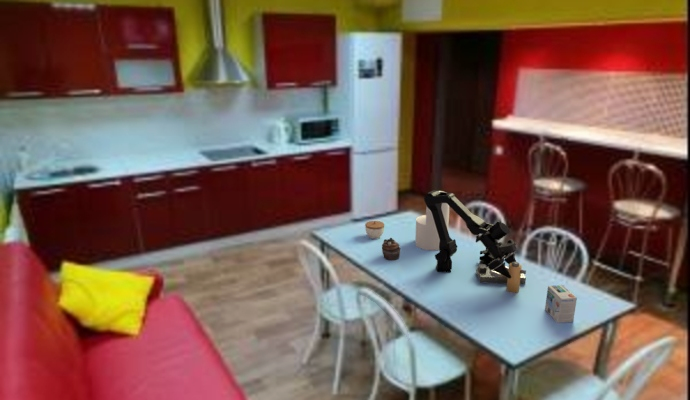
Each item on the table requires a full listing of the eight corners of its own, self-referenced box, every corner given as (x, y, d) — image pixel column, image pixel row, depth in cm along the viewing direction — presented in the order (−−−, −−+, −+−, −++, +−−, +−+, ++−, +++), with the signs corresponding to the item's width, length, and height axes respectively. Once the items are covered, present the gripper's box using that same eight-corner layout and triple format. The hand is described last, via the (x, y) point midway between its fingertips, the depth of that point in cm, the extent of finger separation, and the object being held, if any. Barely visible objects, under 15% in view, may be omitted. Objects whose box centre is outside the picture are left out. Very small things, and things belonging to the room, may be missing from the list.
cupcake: (391, 263, 239) (391, 244, 236) (377, 257, 246) (378, 239, 242) (404, 257, 245) (405, 239, 242) (390, 251, 252) (391, 234, 248)
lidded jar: (384, 240, 266) (384, 224, 263) (365, 240, 266) (365, 224, 264) (383, 233, 276) (383, 217, 273) (365, 233, 277) (364, 218, 274)
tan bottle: (504, 290, 210) (507, 263, 206) (509, 286, 214) (511, 259, 210) (521, 295, 206) (524, 268, 202) (525, 290, 210) (528, 263, 206)
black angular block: (503, 266, 233) (504, 254, 231) (492, 269, 230) (493, 256, 228) (489, 258, 241) (490, 246, 239) (478, 261, 238) (479, 249, 236)
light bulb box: (544, 308, 195) (547, 285, 192) (560, 307, 196) (563, 284, 193) (557, 323, 185) (560, 298, 182) (574, 322, 186) (577, 297, 182)
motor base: (480, 282, 217) (480, 273, 216) (476, 272, 227) (476, 263, 225) (525, 283, 216) (526, 273, 214) (519, 273, 225) (520, 264, 224)
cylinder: (452, 241, 263) (454, 193, 254) (440, 252, 249) (442, 202, 240) (423, 235, 272) (424, 188, 263) (410, 246, 258) (411, 196, 249)
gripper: (497, 242, 199) (521, 273, 196) (513, 229, 213) (536, 257, 210) (478, 255, 206) (501, 285, 203) (494, 241, 220) (516, 269, 217)
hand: (514, 274), depth 208 cm, fingers open, 9 cm apart
